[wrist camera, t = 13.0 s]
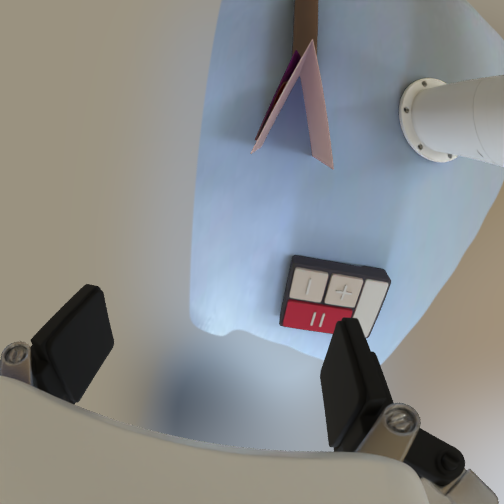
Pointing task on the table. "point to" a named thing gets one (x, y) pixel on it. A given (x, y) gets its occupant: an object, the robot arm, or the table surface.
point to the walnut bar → (305, 25)
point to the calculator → (332, 295)
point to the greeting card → (313, 104)
